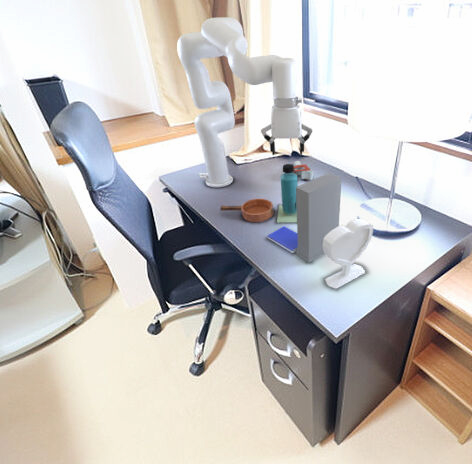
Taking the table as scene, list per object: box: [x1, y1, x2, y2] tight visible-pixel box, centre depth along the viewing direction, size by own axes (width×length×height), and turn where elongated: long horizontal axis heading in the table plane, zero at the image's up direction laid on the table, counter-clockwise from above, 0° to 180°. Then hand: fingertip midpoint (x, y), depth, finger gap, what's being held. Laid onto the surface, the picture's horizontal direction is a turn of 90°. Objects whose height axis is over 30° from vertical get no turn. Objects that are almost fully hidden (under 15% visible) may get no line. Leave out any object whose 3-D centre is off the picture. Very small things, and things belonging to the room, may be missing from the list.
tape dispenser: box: [292, 160, 315, 181], centre depth 153 cm, size 18×5×20 cm
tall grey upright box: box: [295, 172, 342, 263], centre depth 99 cm, size 14×6×25 cm, turn 133°
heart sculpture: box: [323, 218, 374, 289], centre depth 91 cm, size 16×5×18 cm, turn 125°
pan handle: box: [220, 205, 242, 211], centre depth 125 cm, size 8×2×1 cm, turn 89°
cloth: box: [276, 204, 297, 224], centre depth 126 cm, size 10×13×1 cm
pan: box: [240, 198, 274, 223], centre depth 125 cm, size 12×12×4 cm
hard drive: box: [267, 226, 298, 254], centre depth 111 cm, size 2×8×12 cm
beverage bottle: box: [279, 163, 299, 214], centre depth 120 cm, size 6×7×20 cm
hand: (287, 153), depth 112 cm, fingers open, 9 cm apart
